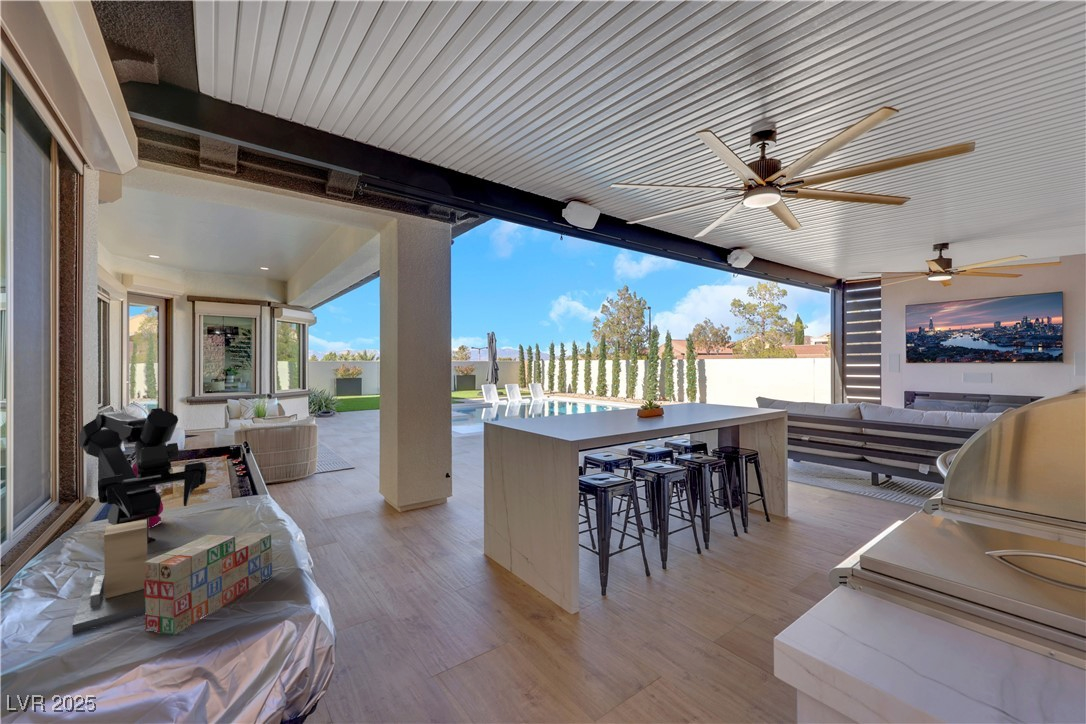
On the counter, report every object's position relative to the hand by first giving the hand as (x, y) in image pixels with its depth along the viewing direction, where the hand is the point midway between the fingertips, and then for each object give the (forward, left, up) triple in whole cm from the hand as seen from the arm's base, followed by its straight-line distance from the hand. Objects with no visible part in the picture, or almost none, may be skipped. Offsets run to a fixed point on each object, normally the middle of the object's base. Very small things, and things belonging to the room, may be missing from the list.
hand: (158, 510), depth 100 cm
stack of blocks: (+24, -2, -14) cm, 28 cm away
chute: (+5, -8, -13) cm, 16 cm away
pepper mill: (-36, +14, -14) cm, 41 cm away
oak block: (+6, -8, -12) cm, 16 cm away
